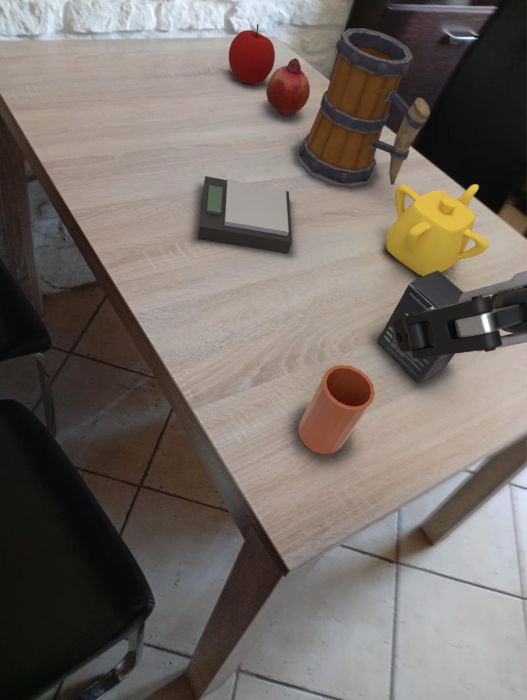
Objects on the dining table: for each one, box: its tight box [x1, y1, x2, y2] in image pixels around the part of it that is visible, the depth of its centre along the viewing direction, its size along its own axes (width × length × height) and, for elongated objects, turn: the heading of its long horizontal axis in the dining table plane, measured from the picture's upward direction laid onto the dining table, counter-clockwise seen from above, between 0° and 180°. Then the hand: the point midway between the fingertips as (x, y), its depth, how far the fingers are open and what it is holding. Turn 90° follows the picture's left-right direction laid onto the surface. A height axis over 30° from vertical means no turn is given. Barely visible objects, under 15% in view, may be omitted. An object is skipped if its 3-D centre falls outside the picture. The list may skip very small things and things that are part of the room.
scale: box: [197, 175, 293, 254], centre depth 77 cm, size 13×12×3 cm
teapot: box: [385, 183, 489, 277], centre depth 78 cm, size 14×13×10 cm
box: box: [377, 271, 464, 384], centre depth 64 cm, size 8×6×11 cm
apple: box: [228, 23, 276, 85], centre depth 103 cm, size 9×9×10 cm
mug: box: [296, 27, 431, 189], centre depth 85 cm, size 19×14×20 cm
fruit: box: [265, 57, 311, 116], centre depth 97 cm, size 8×8×10 cm
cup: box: [297, 364, 376, 455], centre depth 54 cm, size 5×5×9 cm
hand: (449, 322), depth 36 cm, fingers open, 8 cm apart
